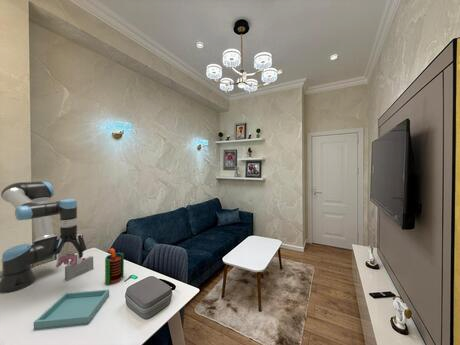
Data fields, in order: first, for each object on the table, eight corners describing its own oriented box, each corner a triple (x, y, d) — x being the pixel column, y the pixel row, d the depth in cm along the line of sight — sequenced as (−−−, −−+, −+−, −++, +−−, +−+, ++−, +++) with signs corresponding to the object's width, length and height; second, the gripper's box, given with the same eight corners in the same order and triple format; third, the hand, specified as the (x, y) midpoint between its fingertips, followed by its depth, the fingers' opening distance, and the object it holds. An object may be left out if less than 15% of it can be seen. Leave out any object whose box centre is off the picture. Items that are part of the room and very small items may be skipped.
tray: (33, 329, 84) (33, 322, 84) (65, 299, 104) (65, 292, 104) (88, 324, 87) (88, 316, 87) (109, 295, 107) (109, 289, 107)
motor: (113, 286, 115) (113, 253, 115) (101, 284, 117) (100, 252, 117) (125, 277, 125) (125, 247, 125) (114, 275, 127) (114, 245, 127)
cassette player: (91, 268, 136) (90, 254, 136) (93, 269, 135) (93, 255, 135) (65, 280, 122) (64, 264, 121) (67, 281, 121) (67, 265, 120)
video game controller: (78, 266, 111) (81, 253, 114) (72, 266, 107) (76, 253, 110) (60, 267, 110) (64, 254, 114) (54, 267, 106) (58, 253, 109)
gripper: (41, 228, 105) (42, 268, 105) (86, 226, 108) (86, 265, 109) (52, 224, 112) (52, 262, 113) (93, 223, 116) (93, 259, 116)
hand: (69, 263), depth 111 cm, fingers closed on video game controller, 10 cm apart
